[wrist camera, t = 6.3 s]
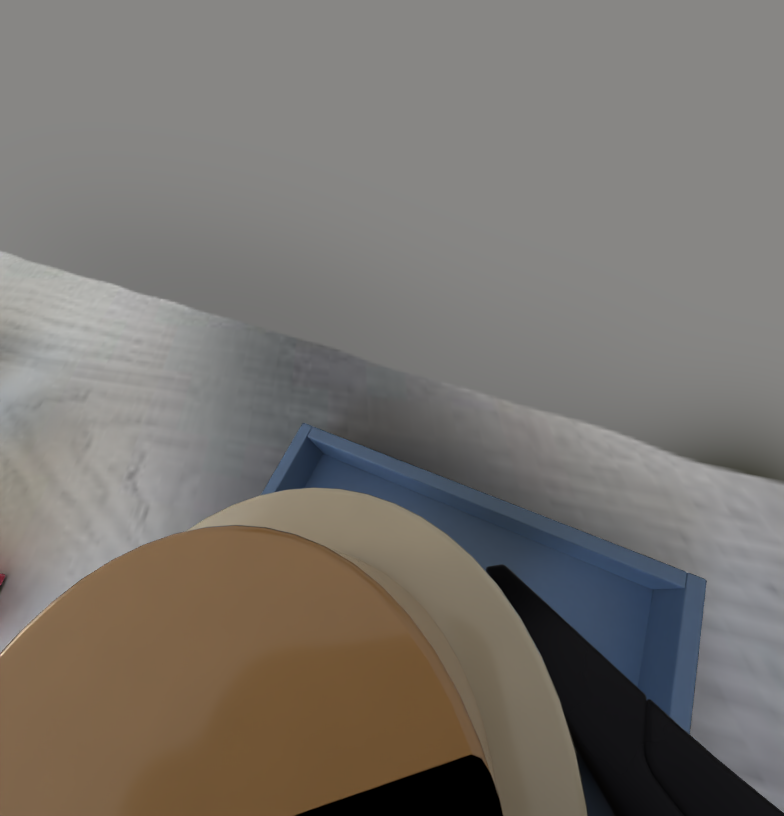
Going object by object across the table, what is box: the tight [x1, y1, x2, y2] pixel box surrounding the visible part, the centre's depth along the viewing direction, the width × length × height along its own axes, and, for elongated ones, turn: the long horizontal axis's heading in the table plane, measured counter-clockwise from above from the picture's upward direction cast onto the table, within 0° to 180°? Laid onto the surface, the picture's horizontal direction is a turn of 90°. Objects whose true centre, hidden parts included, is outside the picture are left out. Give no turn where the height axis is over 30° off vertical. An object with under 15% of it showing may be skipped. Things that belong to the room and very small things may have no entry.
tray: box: [261, 423, 707, 734], centre depth 15 cm, size 17×12×3 cm
